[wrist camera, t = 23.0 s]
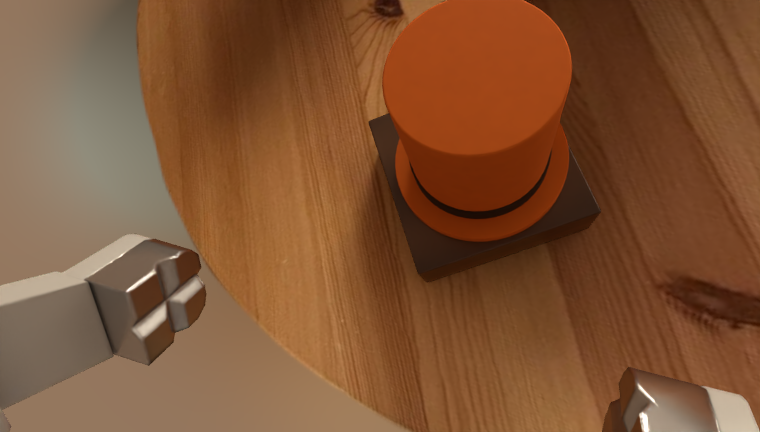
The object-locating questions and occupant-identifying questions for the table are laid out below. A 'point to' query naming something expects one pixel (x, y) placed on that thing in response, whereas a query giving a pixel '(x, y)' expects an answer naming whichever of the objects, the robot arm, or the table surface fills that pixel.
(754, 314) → the table surface
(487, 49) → the hat
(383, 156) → the plinth
